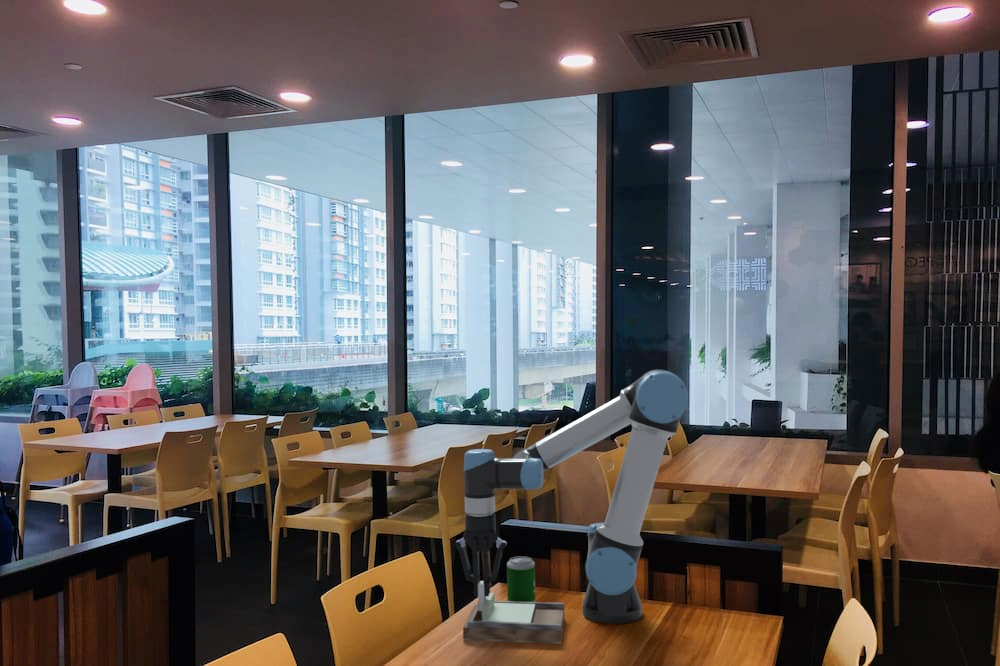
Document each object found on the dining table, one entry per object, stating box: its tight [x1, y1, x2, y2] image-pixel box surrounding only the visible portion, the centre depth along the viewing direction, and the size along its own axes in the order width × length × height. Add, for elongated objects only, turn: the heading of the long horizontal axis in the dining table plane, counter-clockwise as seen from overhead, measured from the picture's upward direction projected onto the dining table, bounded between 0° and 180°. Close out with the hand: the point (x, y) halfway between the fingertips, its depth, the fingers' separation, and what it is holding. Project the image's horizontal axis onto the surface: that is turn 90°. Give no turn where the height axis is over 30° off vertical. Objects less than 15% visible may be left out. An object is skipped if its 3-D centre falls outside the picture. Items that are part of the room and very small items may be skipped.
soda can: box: [506, 555, 536, 602], centre depth 206 cm, size 8×8×12 cm
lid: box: [482, 592, 535, 623], centre depth 188 cm, size 12×13×4 cm
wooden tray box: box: [462, 600, 565, 645], centre depth 188 cm, size 23×16×4 cm
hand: (482, 609), depth 189 cm, fingers closed
